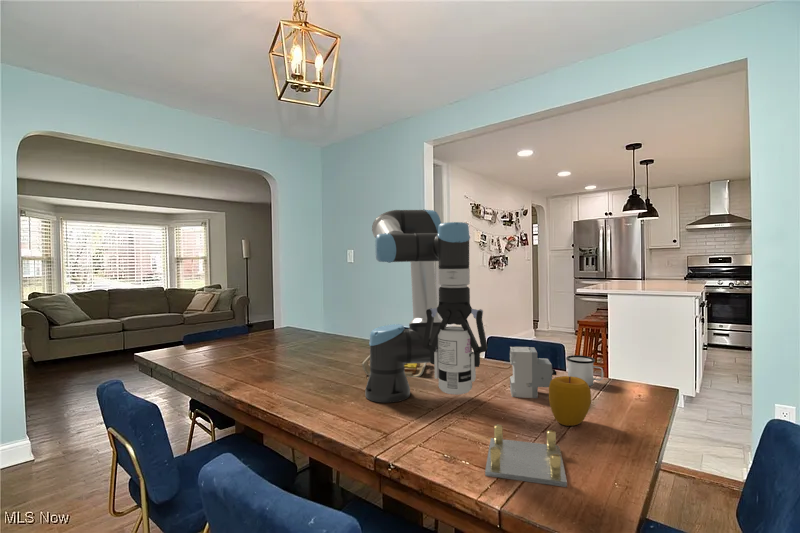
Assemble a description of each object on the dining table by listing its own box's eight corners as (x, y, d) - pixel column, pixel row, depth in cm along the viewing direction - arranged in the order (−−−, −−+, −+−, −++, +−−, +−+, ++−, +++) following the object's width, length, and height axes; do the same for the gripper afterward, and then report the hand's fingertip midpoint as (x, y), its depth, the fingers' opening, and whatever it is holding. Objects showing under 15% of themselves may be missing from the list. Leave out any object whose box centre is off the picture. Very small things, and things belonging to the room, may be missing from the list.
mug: (563, 384, 143) (563, 359, 143) (569, 377, 150) (569, 354, 150) (600, 390, 136) (600, 364, 136) (604, 383, 144) (604, 358, 143)
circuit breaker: (557, 399, 128) (557, 353, 128) (511, 396, 131) (511, 351, 131) (553, 391, 135) (553, 347, 135) (510, 389, 138) (509, 346, 138)
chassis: (485, 475, 84) (484, 452, 84) (490, 441, 99) (490, 422, 99) (567, 487, 79) (566, 462, 79) (559, 449, 94) (559, 429, 94)
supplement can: (435, 384, 101) (435, 326, 101) (467, 383, 102) (466, 325, 102) (441, 396, 93) (441, 332, 93) (476, 394, 94) (475, 331, 93)
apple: (588, 435, 102) (588, 385, 102) (544, 426, 108) (544, 379, 107) (593, 420, 111) (593, 374, 111) (553, 412, 117) (552, 369, 117)
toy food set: (361, 376, 158) (361, 357, 158) (371, 364, 176) (371, 347, 176) (425, 378, 154) (425, 358, 154) (428, 365, 172) (428, 348, 172)
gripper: (408, 286, 96) (409, 379, 97) (497, 287, 90) (498, 386, 91) (416, 284, 104) (417, 370, 104) (499, 285, 97) (499, 376, 98)
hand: (455, 378), depth 98 cm, fingers closed on supplement can, 8 cm apart
